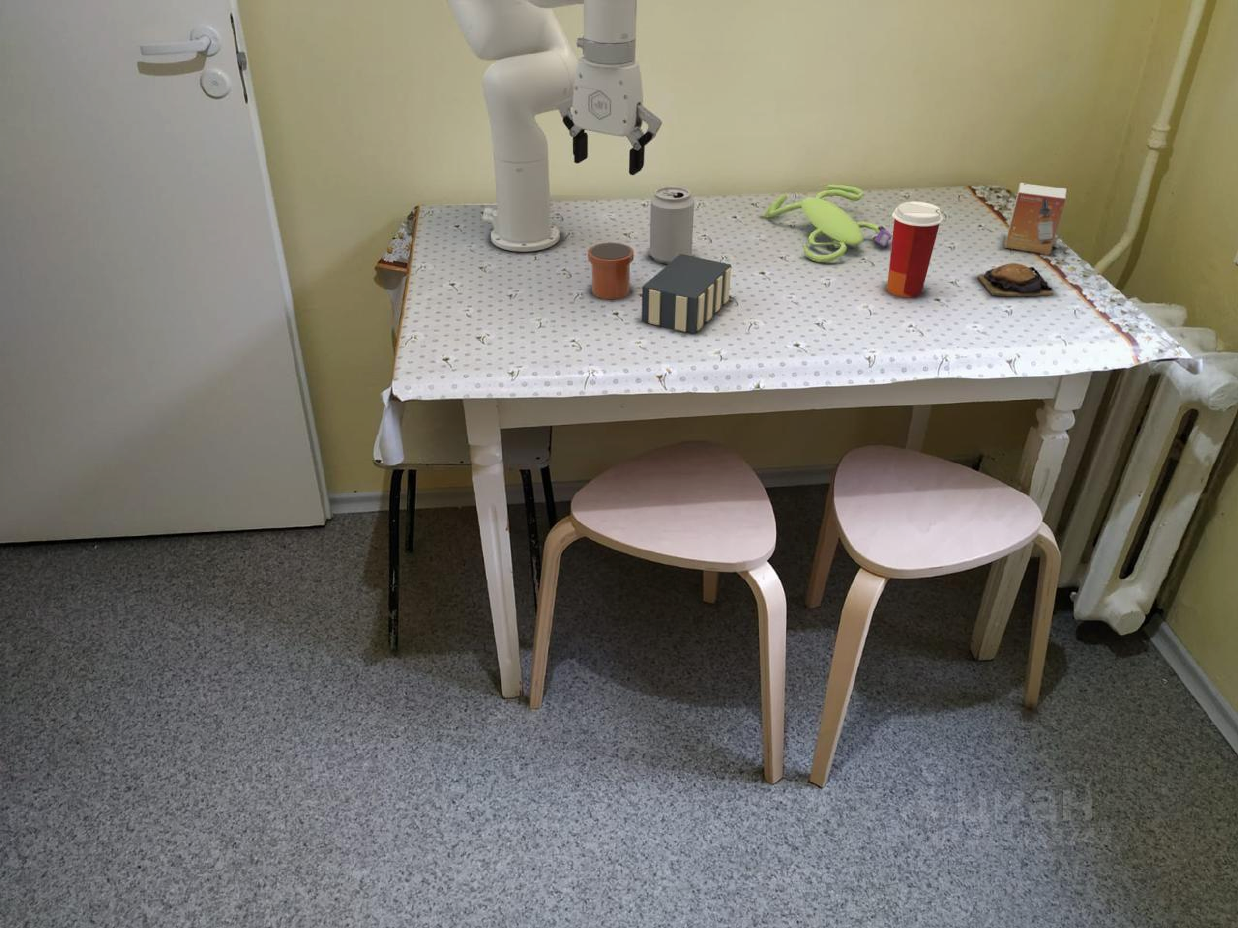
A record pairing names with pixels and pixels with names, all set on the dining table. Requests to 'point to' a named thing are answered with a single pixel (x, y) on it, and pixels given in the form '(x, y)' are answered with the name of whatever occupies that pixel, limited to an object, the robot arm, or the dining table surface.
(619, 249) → the terracotta pot
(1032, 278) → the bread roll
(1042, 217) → the small box
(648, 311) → the dark grey striped block
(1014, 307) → the dining table surface
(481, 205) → the dining table surface
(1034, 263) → the dining table surface
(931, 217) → the paper cup
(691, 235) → the can
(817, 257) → the figurine
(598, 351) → the dining table surface
